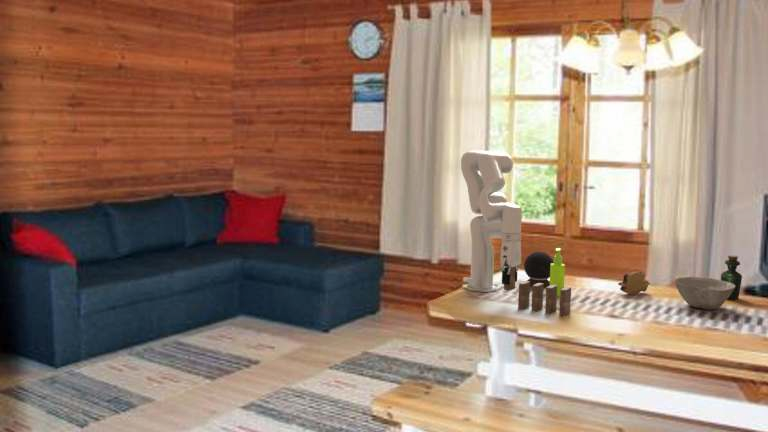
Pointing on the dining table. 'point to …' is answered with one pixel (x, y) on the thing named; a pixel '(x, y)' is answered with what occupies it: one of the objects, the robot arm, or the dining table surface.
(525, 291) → the domino
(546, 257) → the black ball on stand
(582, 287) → the dining table surface
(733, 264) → the potion bottle
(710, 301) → the ceramic bowl
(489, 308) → the dining table surface
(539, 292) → the domino
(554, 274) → the soap dispenser
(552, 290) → the domino
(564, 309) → the domino
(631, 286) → the wooden carving
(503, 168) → the robot arm
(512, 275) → the domino
